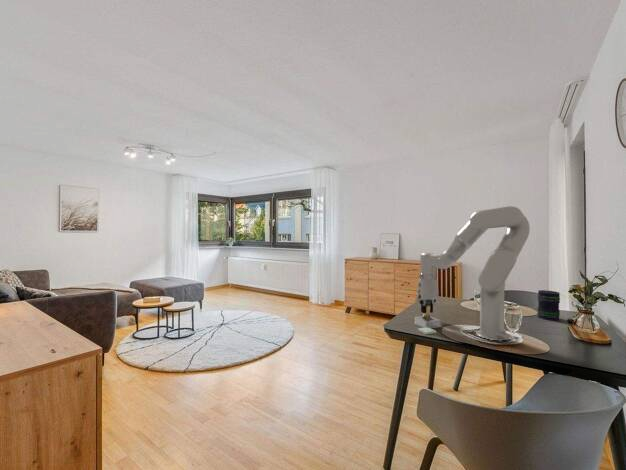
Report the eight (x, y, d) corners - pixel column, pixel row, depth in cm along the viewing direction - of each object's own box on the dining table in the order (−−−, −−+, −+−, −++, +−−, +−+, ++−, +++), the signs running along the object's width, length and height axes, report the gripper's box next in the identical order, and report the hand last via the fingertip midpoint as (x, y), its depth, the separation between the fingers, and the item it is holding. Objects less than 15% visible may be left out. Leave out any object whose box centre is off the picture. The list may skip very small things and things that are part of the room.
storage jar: (541, 319, 167) (542, 293, 167) (534, 315, 177) (534, 289, 177) (563, 321, 165) (563, 294, 164) (554, 316, 174) (555, 290, 174)
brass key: (431, 319, 155) (432, 299, 155) (426, 319, 154) (426, 300, 154) (427, 317, 158) (427, 298, 158) (421, 317, 157) (422, 298, 157)
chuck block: (440, 327, 153) (440, 320, 153) (425, 328, 150) (425, 321, 150) (424, 320, 164) (424, 314, 164) (410, 321, 161) (410, 315, 161)
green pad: (436, 333, 144) (436, 331, 144) (426, 334, 142) (426, 332, 142) (428, 329, 149) (428, 327, 149) (417, 330, 147) (417, 328, 147)
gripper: (419, 278, 149) (418, 315, 150) (446, 277, 155) (445, 313, 155) (409, 276, 156) (408, 311, 157) (435, 275, 162) (435, 309, 162)
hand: (426, 312), depth 156 cm, fingers closed on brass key, 3 cm apart
